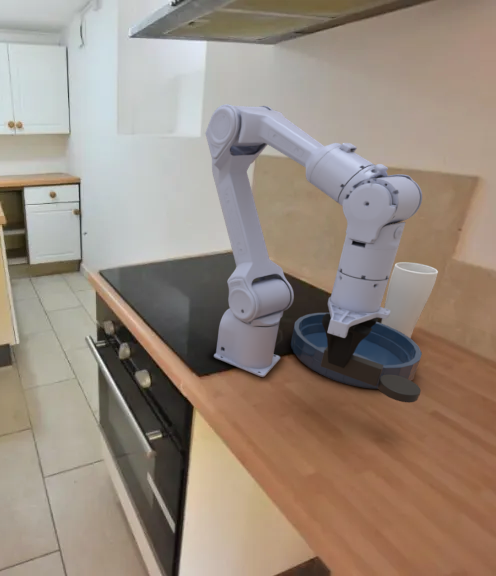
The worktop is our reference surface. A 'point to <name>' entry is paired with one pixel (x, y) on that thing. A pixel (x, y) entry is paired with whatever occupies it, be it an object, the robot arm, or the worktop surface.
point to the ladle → (376, 378)
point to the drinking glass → (408, 295)
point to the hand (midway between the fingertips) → (338, 361)
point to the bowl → (357, 350)
